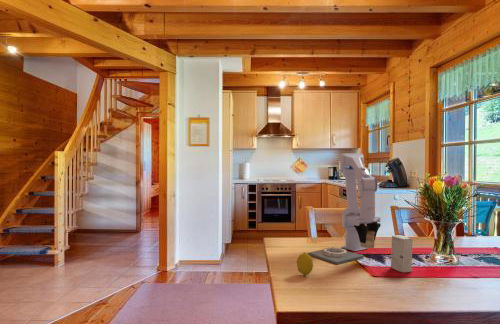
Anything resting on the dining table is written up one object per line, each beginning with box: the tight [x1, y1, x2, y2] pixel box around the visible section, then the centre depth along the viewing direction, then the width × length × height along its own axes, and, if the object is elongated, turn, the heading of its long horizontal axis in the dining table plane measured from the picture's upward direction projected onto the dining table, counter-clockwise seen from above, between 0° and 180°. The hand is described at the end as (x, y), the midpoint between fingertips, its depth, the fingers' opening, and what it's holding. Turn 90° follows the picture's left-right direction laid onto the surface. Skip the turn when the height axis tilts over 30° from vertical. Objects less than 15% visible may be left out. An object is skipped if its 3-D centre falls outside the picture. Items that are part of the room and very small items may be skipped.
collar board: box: [307, 247, 365, 265], centre depth 132 cm, size 16×16×2 cm
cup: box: [361, 230, 375, 249], centre depth 125 cm, size 5×5×6 cm
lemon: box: [296, 252, 314, 277], centre depth 109 cm, size 6×6×8 cm
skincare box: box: [390, 234, 413, 273], centre depth 116 cm, size 6×4×12 cm
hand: (367, 241), depth 125 cm, fingers closed on cup, 5 cm apart
